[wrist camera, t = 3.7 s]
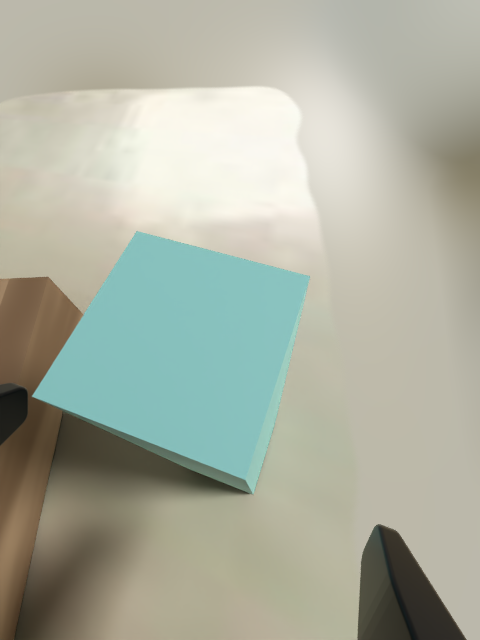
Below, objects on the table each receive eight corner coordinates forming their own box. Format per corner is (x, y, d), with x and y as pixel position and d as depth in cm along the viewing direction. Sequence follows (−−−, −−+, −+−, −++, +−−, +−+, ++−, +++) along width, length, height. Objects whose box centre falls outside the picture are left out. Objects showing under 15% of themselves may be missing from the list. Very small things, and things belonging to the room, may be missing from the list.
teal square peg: (253, 494, 16) (245, 479, 5) (186, 468, 17) (31, 396, 5) (274, 423, 17) (309, 276, 6) (212, 402, 18) (136, 230, 7)
